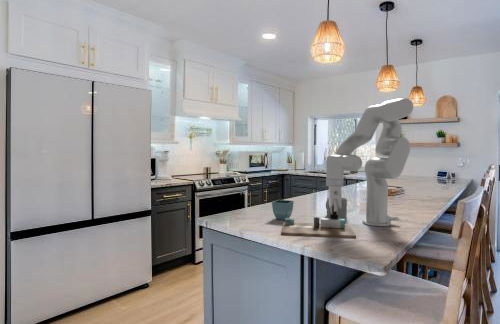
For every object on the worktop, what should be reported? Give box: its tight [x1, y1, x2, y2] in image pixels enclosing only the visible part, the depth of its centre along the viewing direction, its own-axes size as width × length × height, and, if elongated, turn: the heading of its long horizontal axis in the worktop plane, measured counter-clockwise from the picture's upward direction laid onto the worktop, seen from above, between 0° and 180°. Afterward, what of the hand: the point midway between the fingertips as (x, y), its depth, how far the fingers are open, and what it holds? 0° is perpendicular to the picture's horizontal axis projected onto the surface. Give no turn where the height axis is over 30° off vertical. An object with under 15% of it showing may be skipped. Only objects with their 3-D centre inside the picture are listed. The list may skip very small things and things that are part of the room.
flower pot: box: [271, 199, 294, 221], centre depth 161 cm, size 9×9×9 cm
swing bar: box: [320, 217, 346, 228], centre depth 139 cm, size 10×2×4 cm, turn 81°
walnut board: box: [280, 216, 357, 239], centre depth 138 cm, size 30×18×5 cm, turn 81°
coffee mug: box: [325, 197, 348, 220], centre depth 166 cm, size 13×10×10 cm
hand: (333, 222), depth 142 cm, fingers closed
